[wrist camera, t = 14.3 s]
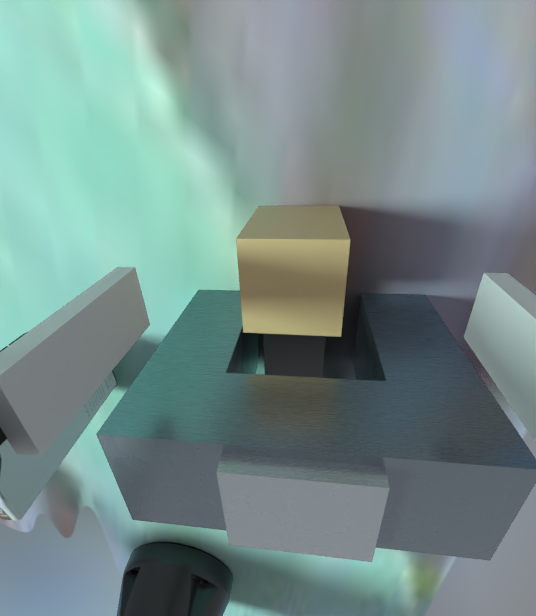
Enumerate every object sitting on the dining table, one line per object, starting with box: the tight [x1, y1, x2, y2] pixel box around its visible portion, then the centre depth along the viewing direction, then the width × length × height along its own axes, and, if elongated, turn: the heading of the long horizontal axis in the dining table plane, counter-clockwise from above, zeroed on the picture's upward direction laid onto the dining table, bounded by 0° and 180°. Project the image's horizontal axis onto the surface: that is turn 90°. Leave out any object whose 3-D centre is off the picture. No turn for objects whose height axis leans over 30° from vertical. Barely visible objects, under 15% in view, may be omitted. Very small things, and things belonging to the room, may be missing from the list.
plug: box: [236, 206, 350, 378], centre depth 21 cm, size 5×16×7 cm, turn 2°
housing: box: [97, 290, 536, 562], centre depth 18 cm, size 16×6×14 cm, turn 92°
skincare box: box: [0, 371, 117, 520], centre depth 23 cm, size 6×4×12 cm
